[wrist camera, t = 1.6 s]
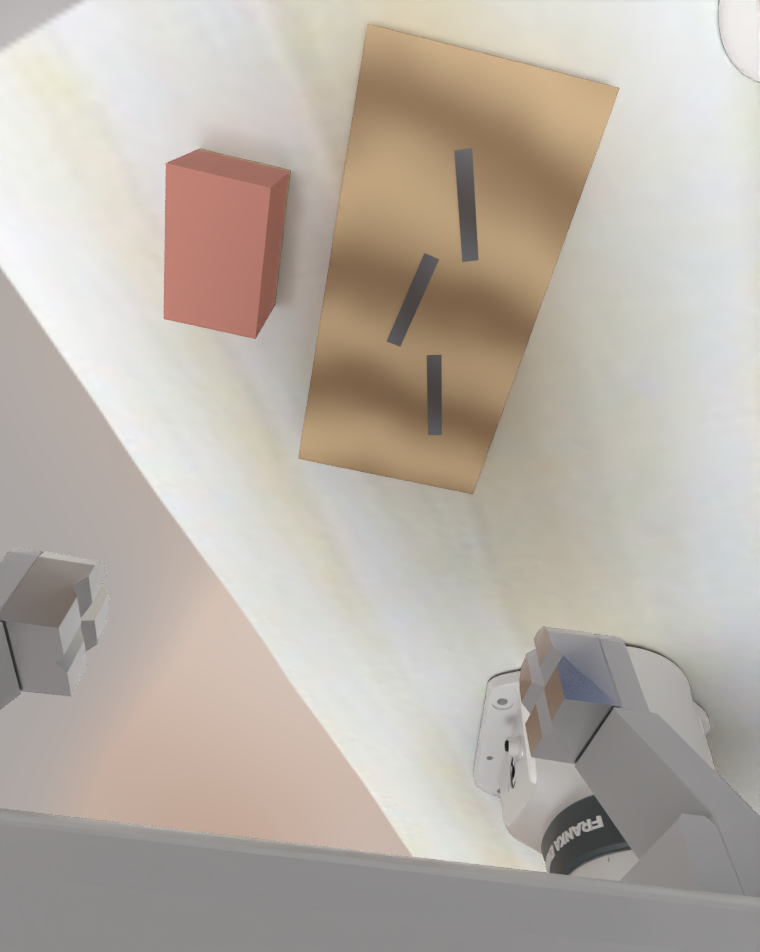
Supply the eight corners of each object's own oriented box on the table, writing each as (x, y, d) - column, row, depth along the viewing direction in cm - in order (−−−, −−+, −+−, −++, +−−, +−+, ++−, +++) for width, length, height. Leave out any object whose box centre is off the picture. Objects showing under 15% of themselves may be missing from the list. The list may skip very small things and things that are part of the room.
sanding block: (275, 304, 35) (255, 338, 31) (194, 287, 35) (163, 318, 31) (290, 169, 31) (270, 187, 27) (200, 148, 31) (166, 163, 27)
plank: (470, 478, 41) (472, 494, 39) (303, 443, 40) (298, 459, 38) (609, 85, 28) (619, 87, 27) (370, 25, 28) (367, 23, 26)
